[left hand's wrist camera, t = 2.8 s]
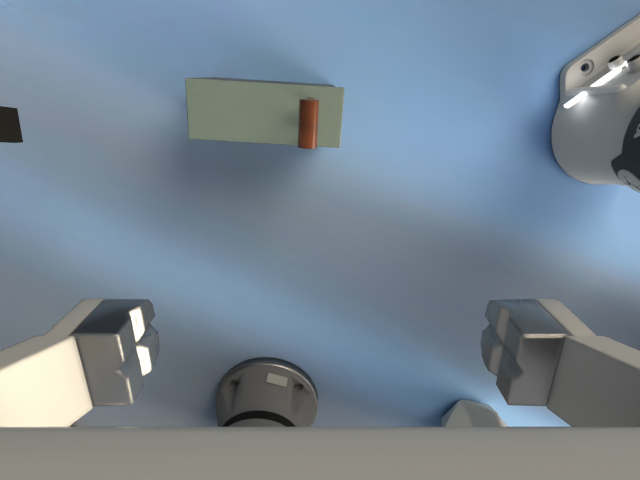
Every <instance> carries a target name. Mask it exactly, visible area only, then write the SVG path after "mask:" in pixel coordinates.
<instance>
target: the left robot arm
mask: <svg viewBox="0 0 640 480" xmlns="http://www.w3.org/2000/svg"><path fill="white" fill-rule="evenodd" d="M583 64H585V69H584V70H583V71H582V70H581V66H582V65H583ZM551 142H552V149H553V153H554V155H555V158H556V160H557V162H558V164H559V165H560V167H561V168H562V169H563V170H564V171H565V172H566V173H567V174H568V175H569V176H571V177H572V178H574V179H576V180H578V181H581V182H584V183H588V184H595V185H602V184H617V185H623V186H628V187H629V188H631V189H633V190H635V191H637V192H639V193H640V14H638V15H637V16H636V17H634V18H633V19H631V20H630V21H628V22H627V23H626V24H624V25H623V26H621V27H620V28H618V29H617V30H616V31H614V32H613V33H611V34H610V35H608V36H607V37H605V38H604V39H603V40H601V41H600V42H598V43H597V44H595V45H594V46H593V47H591V48H590V49H588V50H587V51H585V52H584V53H583V54H581V55H580V56H578V57H577V58H575V59H574V60H573V61H571V62H570V63H568V64H567V65H566V66H565V67H564V68H563V69H562V71H561V74H560V101H559V104H558V107H557V110H556V113H555V116H554V120H553V124H552V131H551ZM154 317H155V314H154V309H153V304H152V303H151V302H150V301H149V300H141V299H105V298H103V299H83V300H81V301H80V302H79V303H78V304H77V305H76V306H75V307H74V308H73V309H72V310H71V311H69V312H68V313H67V314H66V315H65V316H64V317H63V318H62V319H61V320H60V321H59V322H58V323H57V324H55V325H54V326H53V327H52V328H51V329H50V330H49V331H48V332H47V333H46V334H45V335H44V336H35V337H32V338H30V339H28V340H25V341H23V342H20V343H18V344H15V345H13V346H11V347H8V348H6V349H3V350H1V351H0V480H640V351H639V350H636V349H634V348H632V347H629V346H627V345H624V344H622V343H620V342H617V341H615V340H612V339H610V338H608V337H605V336H596V335H595V334H594V333H593V332H592V331H591V330H590V329H589V328H588V327H587V326H586V325H585V324H583V323H582V322H581V321H580V320H579V319H578V318H577V317H576V316H575V315H574V314H573V313H572V312H571V311H570V310H568V309H567V308H566V307H565V306H564V305H563V304H562V303H561V302H560V301H559V300H556V299H553V298H549V299H511V300H490V301H489V303H488V305H487V308H486V314H485V317H486V318H487V320H488V321H489V323H490V324H489V325H488V327H487V328H486V329H485V330H484V331H483V332H482V338H481V352H482V357H483V361H484V364H485V365H486V367H487V369H488V371H490V372H491V373H493V374H494V375H496V376H497V381H496V385H497V387H498V388H499V390H500V392H501V394H502V395H503V397H504V399H505V400H506V402H507V404H508V405H526V406H547V408H548V409H549V410H551V411H552V412H553V413H554V414H556V415H557V416H558V417H560V418H561V419H562V420H564V421H565V422H566V423H568V424H569V425H570V426H572V427H68V426H70V425H71V424H72V423H74V422H75V421H76V420H78V419H79V418H80V417H82V416H83V415H84V414H86V413H87V412H88V411H90V410H91V409H92V408H93V406H114V405H132V404H133V402H134V400H135V399H136V397H137V395H138V394H139V392H140V390H141V388H142V387H143V385H144V381H143V376H144V375H146V374H147V373H149V372H150V371H152V369H153V367H154V365H155V363H156V361H157V357H158V352H159V337H158V332H157V331H156V330H155V329H154V328H153V327H152V325H151V324H150V323H151V321H152V320H153V318H154Z"/></svg>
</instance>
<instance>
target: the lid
mask: <svg viewBox="0 0 640 480" xmlns="http://www.w3.org/2000/svg"><path fill="white" fill-rule="evenodd" d="M185 82H186V99H187V116H188V133H189V139H202V140H218V141H235V142H252V143H269V144H286V145H298V147H299V148H305V149H314V148H317V146H320V147H337V148H340V139H341V126H342V112H343V99H344V88H342V87H326V86H310V85H294V84H278V83H261V82H245V81H229V80H213V79H197V78H185Z"/></svg>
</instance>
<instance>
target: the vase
mask: <svg viewBox="0 0 640 480" xmlns="http://www.w3.org/2000/svg"><path fill="white" fill-rule="evenodd" d="M441 427H508V426H507V425H506V424H505V423H504V421H503V420H502V419H501V418H500V417H499V416H498V414H497V412H496V411H495V410H494V409H493V408H491V407H490V406H489V405H487V404H483V403H479V402H474V401H469V400H464V399H462V400H459V401H458V402H457V403H456V404H455V405H454V406H453V407H452V408H451V409H450V410H449V411H448V412H447V413H446V414H445V415H444V416H443V417H442V419H441Z"/></svg>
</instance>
